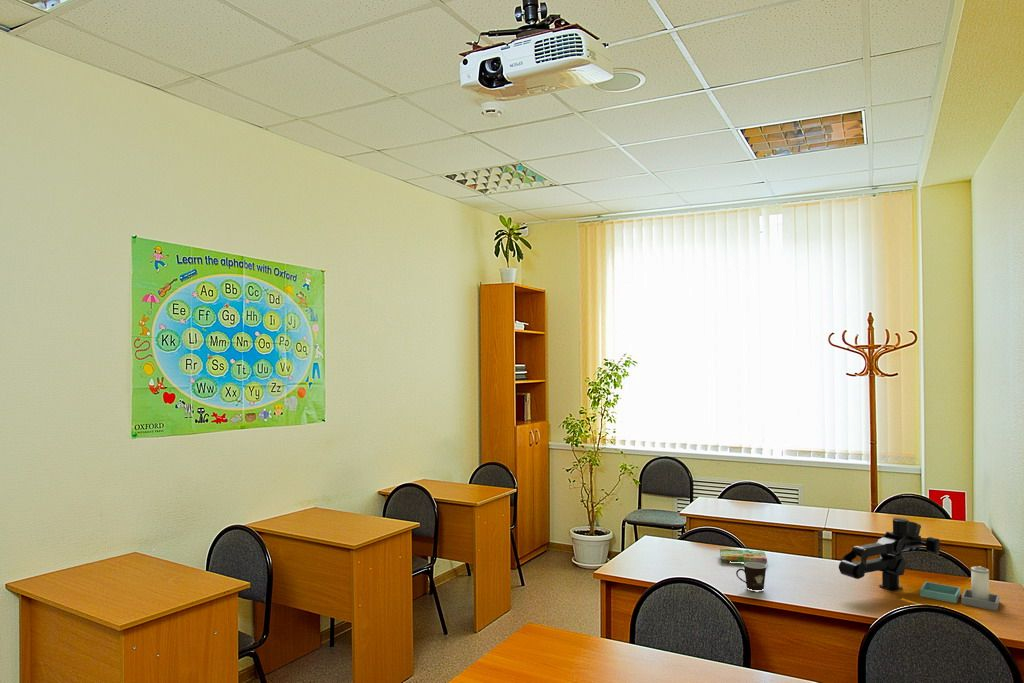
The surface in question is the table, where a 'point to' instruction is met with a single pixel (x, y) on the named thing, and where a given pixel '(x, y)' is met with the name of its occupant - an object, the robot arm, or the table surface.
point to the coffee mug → (754, 575)
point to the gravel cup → (980, 583)
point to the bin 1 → (940, 592)
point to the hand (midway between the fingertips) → (928, 539)
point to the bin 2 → (980, 601)
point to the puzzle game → (743, 556)
